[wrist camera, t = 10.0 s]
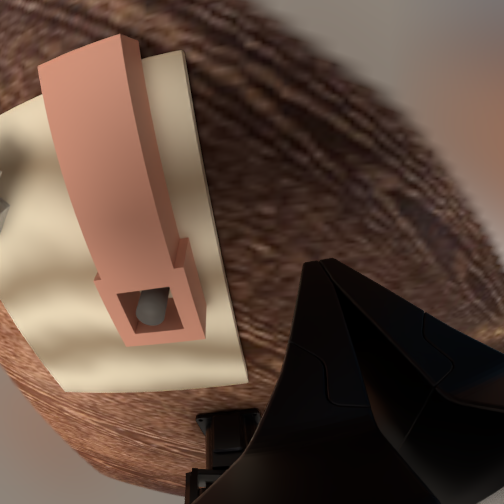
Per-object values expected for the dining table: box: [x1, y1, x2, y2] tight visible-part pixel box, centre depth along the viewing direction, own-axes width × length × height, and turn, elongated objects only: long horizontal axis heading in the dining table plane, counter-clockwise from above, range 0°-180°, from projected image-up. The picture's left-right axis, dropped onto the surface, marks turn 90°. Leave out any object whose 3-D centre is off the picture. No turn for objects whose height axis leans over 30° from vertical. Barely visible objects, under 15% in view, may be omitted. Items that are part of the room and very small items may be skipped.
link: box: [38, 34, 207, 347], centre depth 15 cm, size 16×5×3 cm, turn 7°
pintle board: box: [0, 50, 248, 393], centre depth 18 cm, size 24×18×4 cm
